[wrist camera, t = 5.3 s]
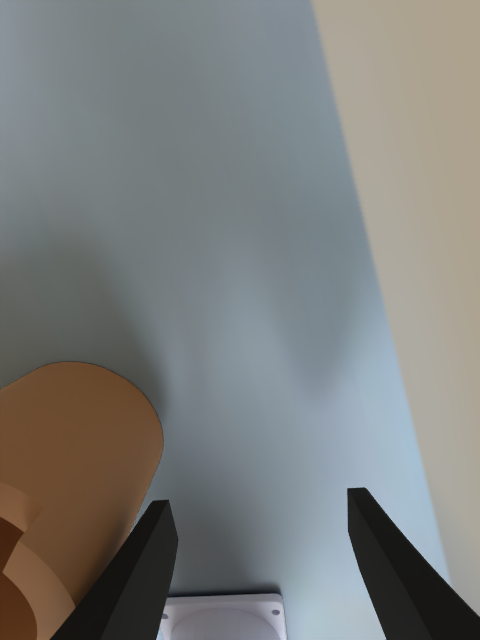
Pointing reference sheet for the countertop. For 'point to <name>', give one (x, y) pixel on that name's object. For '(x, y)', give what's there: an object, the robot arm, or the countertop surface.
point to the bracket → (67, 487)
